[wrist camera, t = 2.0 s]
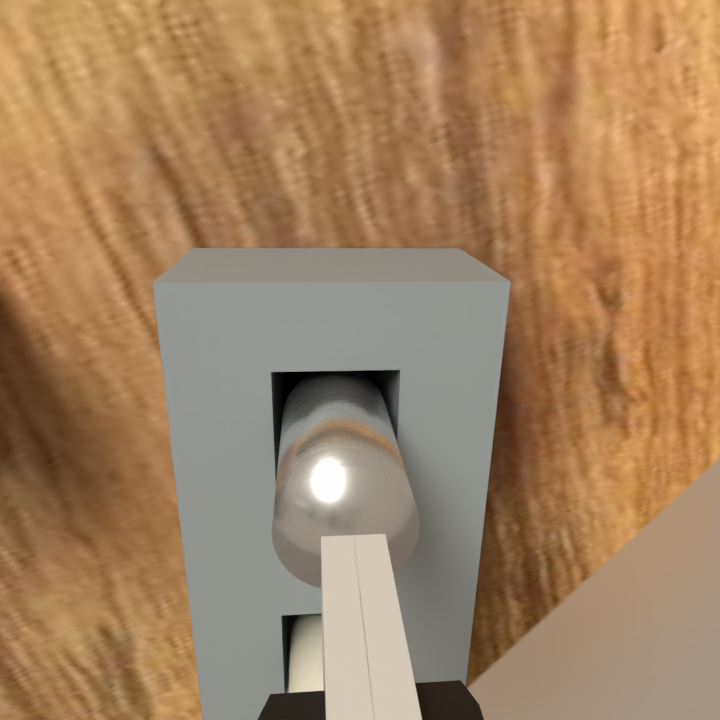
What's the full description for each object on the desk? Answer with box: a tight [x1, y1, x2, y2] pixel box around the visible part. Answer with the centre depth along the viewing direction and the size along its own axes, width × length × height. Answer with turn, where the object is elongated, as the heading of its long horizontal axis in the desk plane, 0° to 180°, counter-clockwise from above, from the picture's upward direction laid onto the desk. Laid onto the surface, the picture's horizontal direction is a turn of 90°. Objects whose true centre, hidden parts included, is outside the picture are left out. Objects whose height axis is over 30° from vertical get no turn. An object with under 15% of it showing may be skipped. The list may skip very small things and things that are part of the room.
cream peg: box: [289, 613, 323, 693], centre depth 22 cm, size 4×4×7 cm
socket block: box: [153, 248, 511, 720], centre depth 26 cm, size 12×22×7 cm, turn 179°
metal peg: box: [272, 371, 420, 588], centre depth 18 cm, size 4×4×7 cm
